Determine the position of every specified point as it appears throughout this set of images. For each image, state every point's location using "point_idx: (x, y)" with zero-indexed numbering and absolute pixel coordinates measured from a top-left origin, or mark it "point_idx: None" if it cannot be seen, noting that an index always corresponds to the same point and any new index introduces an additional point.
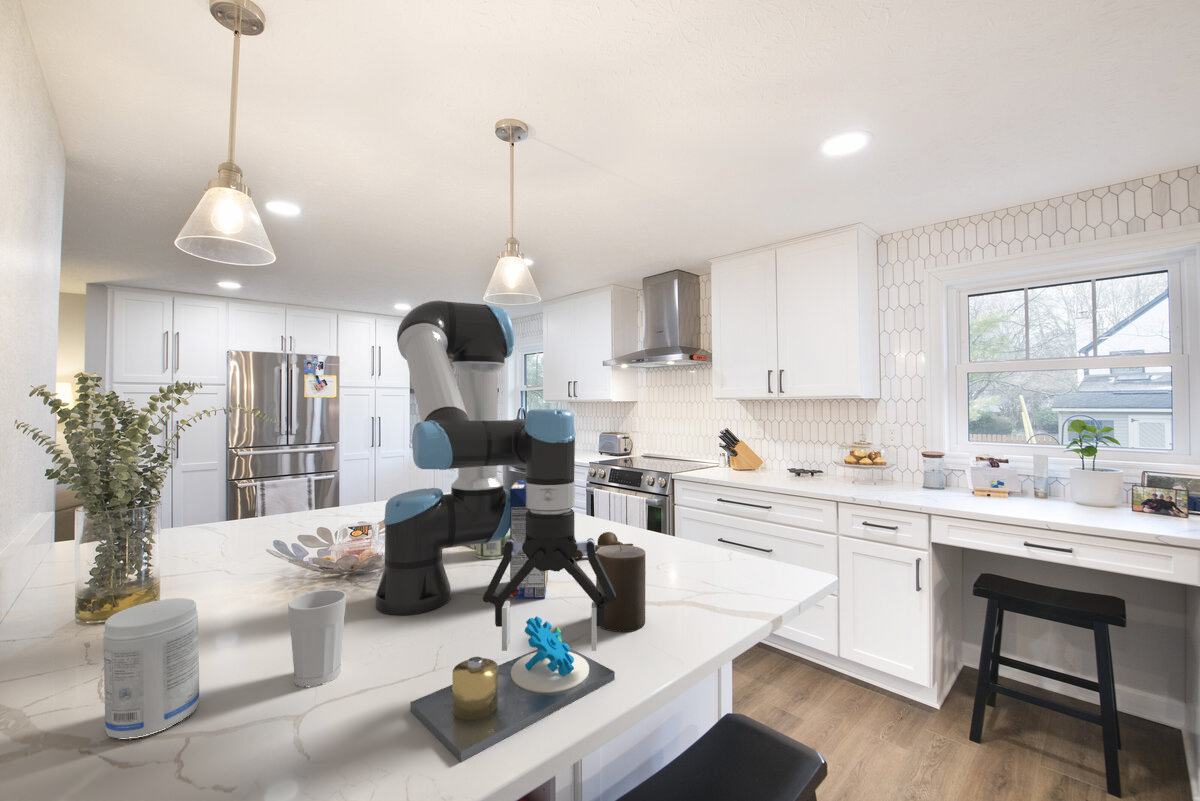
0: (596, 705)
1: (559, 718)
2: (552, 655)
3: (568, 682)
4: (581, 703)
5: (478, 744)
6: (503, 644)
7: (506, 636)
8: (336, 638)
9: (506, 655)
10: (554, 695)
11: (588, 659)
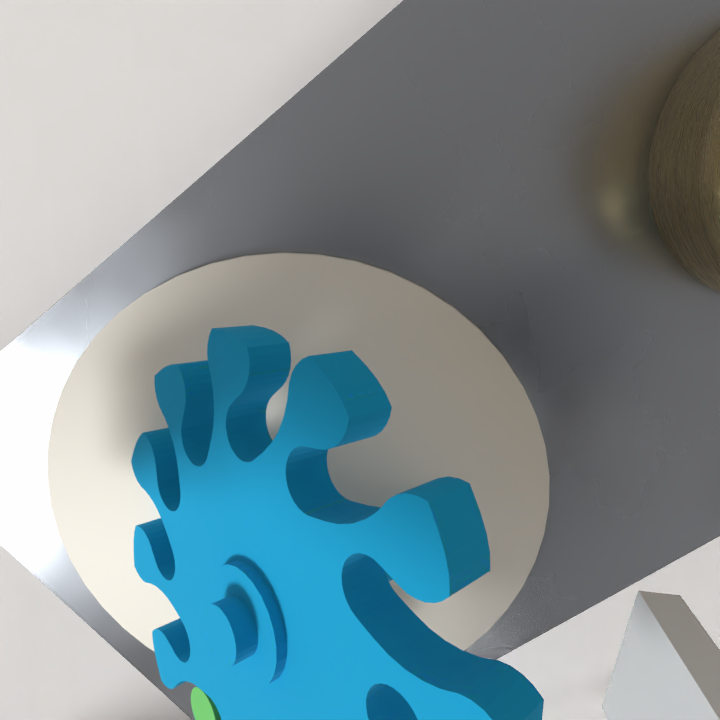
0: (15, 171)
1: (238, 53)
2: (244, 462)
3: (172, 340)
4: (109, 203)
5: None
6: (695, 633)
7: (708, 694)
8: None
9: (548, 715)
10: (264, 219)
11: (68, 590)
